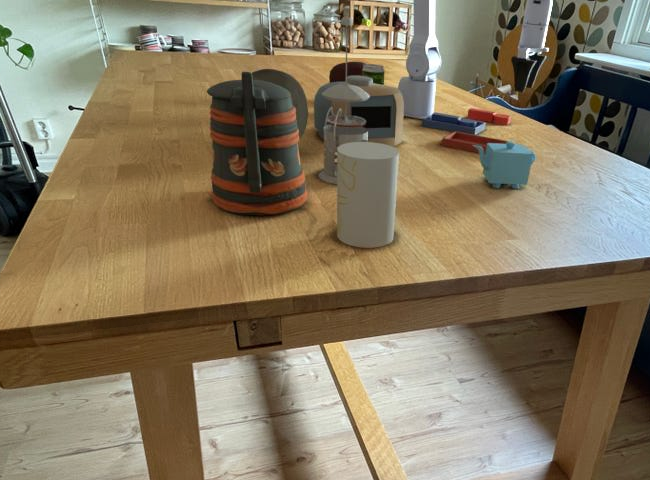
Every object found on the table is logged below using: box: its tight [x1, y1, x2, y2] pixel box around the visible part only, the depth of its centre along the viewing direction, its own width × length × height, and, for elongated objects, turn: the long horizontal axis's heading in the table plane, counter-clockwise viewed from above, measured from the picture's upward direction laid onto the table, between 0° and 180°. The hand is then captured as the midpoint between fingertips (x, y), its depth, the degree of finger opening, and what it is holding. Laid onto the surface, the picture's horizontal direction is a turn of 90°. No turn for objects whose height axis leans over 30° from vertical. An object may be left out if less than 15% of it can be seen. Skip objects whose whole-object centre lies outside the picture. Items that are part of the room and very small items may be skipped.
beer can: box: [362, 63, 385, 85], centre depth 136 cm, size 5×5×12 cm
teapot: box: [473, 140, 536, 189], centre depth 101 cm, size 12×6×8 cm, turn 94°
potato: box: [328, 61, 366, 83], centre depth 151 cm, size 11×13×10 cm
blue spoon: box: [432, 111, 478, 128], centre depth 137 cm, size 11×4×2 cm, turn 64°
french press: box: [318, 16, 370, 185], centre depth 93 cm, size 10×12×25 cm
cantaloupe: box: [251, 68, 309, 141], centre depth 105 cm, size 14×14×15 cm
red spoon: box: [466, 107, 512, 126], centre depth 146 cm, size 11×4×2 cm, turn 64°
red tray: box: [441, 131, 508, 155], centre depth 124 cm, size 14×8×2 cm, turn 64°
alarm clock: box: [313, 76, 404, 148], centre depth 121 cm, size 19×20×12 cm
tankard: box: [206, 71, 308, 217], centre depth 80 cm, size 19×15×20 cm
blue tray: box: [421, 115, 487, 135], centre depth 137 cm, size 14×8×2 cm, turn 64°
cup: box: [336, 142, 400, 249], centre depth 76 cm, size 8×8×12 cm
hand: (523, 89), depth 133 cm, fingers open, 7 cm apart
